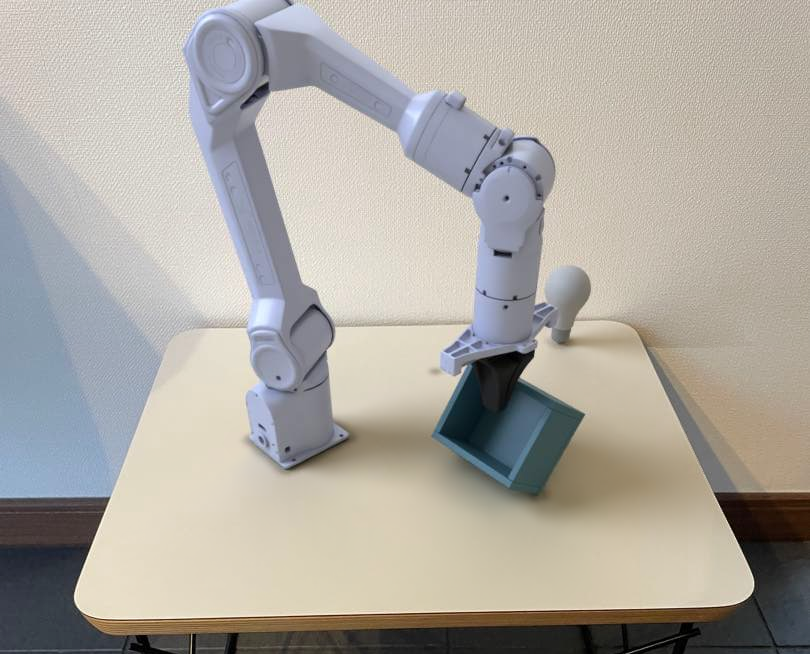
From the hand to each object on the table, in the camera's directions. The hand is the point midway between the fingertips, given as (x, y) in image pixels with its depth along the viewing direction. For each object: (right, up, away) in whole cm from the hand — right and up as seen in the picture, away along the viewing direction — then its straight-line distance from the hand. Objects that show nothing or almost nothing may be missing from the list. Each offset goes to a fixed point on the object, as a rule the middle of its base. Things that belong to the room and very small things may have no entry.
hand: (494, 407), depth 81 cm
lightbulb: (+12, +14, +28) cm, 33 cm away
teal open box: (0, -6, +5) cm, 8 cm away
